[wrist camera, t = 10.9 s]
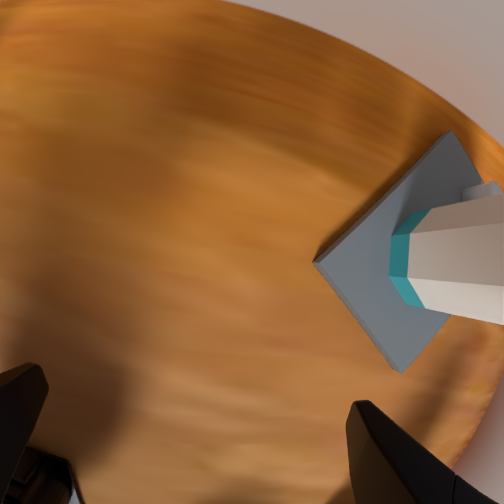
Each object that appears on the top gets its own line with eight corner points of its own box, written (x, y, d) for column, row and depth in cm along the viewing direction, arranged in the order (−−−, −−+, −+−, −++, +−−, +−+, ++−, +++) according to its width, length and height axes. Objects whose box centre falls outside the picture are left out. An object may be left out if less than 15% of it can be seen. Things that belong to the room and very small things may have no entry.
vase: (449, 304, 19) (603, 329, 6) (385, 304, 18) (574, 347, 5) (454, 221, 19) (607, 200, 6) (391, 208, 18) (576, 161, 5)
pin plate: (392, 368, 19) (427, 387, 15) (312, 262, 18) (341, 263, 14) (495, 229, 21) (530, 226, 17) (442, 134, 20) (476, 117, 16)
